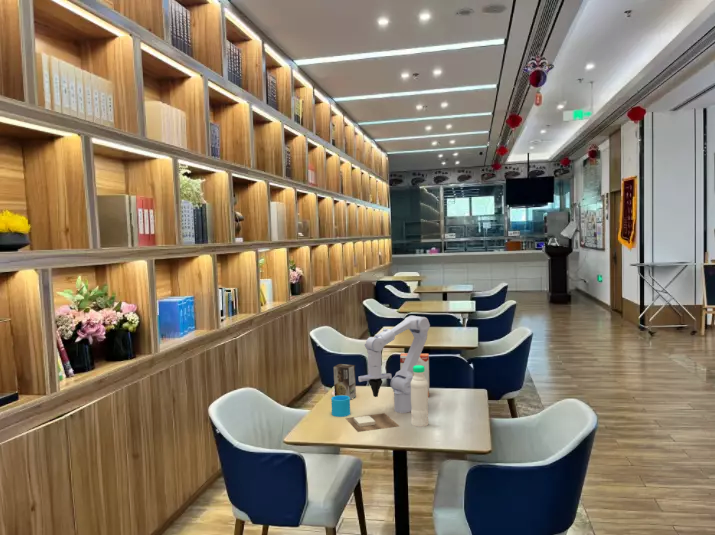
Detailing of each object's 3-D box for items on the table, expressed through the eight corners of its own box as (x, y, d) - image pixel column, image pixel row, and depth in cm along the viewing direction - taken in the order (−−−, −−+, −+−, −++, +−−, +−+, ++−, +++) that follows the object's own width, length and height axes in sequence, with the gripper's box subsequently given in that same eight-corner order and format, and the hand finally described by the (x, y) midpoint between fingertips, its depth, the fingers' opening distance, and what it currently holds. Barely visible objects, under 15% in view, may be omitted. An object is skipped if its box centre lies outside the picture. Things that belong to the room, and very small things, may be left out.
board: (384, 415, 231) (384, 413, 231) (399, 428, 214) (399, 426, 214) (345, 420, 226) (345, 418, 226) (357, 434, 209) (357, 431, 209)
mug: (346, 419, 227) (346, 401, 226) (329, 418, 229) (328, 400, 229) (355, 411, 238) (354, 393, 238) (338, 410, 241) (338, 392, 240)
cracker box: (400, 397, 258) (399, 355, 258) (401, 393, 264) (400, 352, 263) (429, 397, 256) (428, 355, 255) (429, 394, 262) (428, 353, 261)
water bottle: (417, 429, 212) (416, 368, 211) (408, 424, 218) (406, 365, 217) (432, 426, 215) (430, 366, 214) (422, 421, 221) (421, 363, 220)
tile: (369, 415, 224) (353, 417, 222) (375, 421, 216) (359, 423, 214) (369, 419, 224) (353, 421, 222) (375, 425, 216) (359, 427, 214)
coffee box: (356, 397, 261) (355, 364, 260) (349, 400, 255) (348, 367, 255) (340, 394, 265) (340, 363, 265) (334, 398, 260) (333, 366, 259)
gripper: (387, 361, 232) (387, 392, 232) (355, 364, 228) (356, 395, 228) (393, 365, 225) (393, 396, 226) (360, 368, 221) (361, 400, 221)
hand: (375, 396), depth 226 cm, fingers closed
